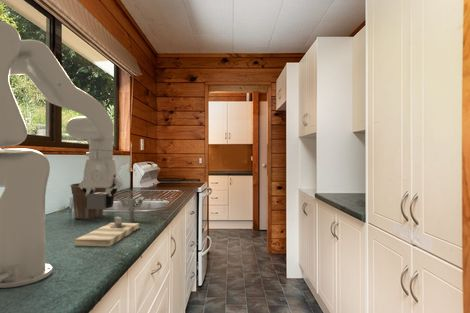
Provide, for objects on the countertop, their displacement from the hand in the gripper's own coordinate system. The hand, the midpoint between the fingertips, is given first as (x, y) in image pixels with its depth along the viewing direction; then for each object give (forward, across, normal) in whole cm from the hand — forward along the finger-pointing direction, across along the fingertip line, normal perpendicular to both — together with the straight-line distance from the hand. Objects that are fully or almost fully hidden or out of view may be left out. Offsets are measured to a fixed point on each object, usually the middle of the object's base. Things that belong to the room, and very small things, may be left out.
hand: (100, 206), depth 102 cm
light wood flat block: (+12, 0, +7) cm, 14 cm away
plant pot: (+11, -27, +38) cm, 48 cm away
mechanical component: (+11, -3, +32) cm, 34 cm away
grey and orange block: (0, 0, 0) cm, 0 cm away
